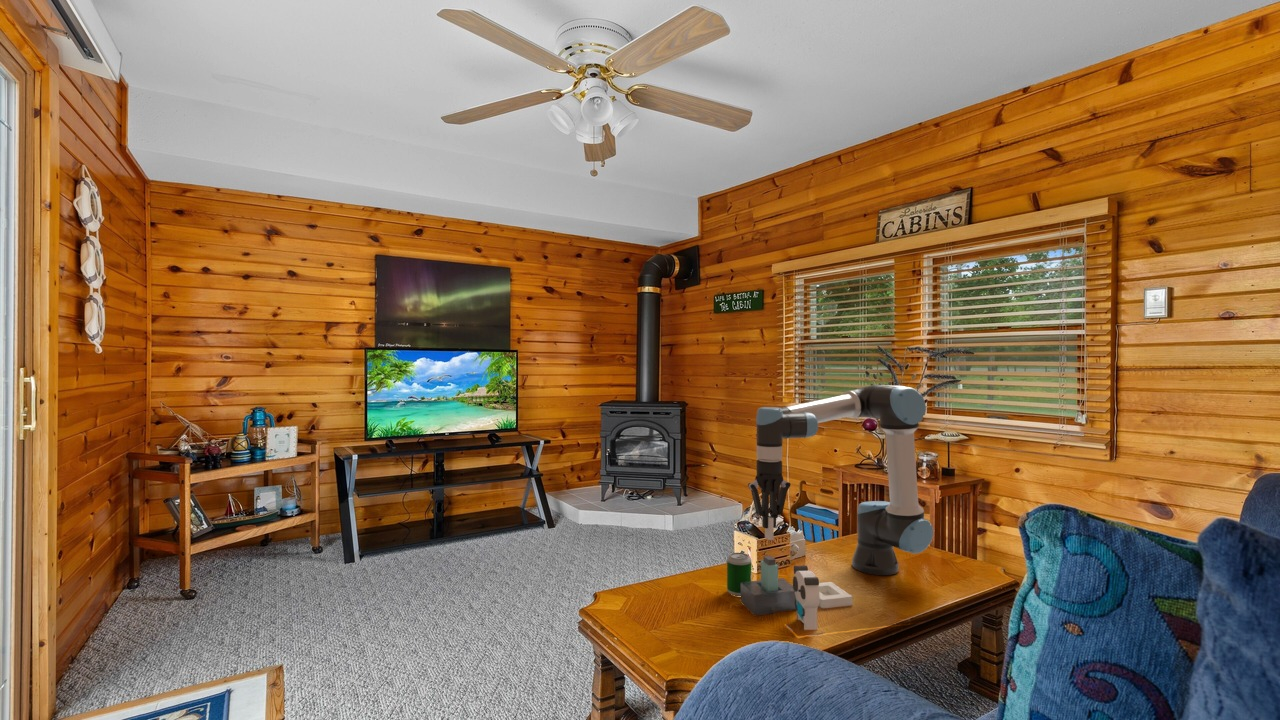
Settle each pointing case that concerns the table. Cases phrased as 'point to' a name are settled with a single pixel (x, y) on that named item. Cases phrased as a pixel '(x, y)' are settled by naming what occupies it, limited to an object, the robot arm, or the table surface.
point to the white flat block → (833, 596)
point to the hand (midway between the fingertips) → (769, 538)
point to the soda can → (737, 572)
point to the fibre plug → (769, 574)
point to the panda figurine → (806, 597)
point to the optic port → (767, 597)
